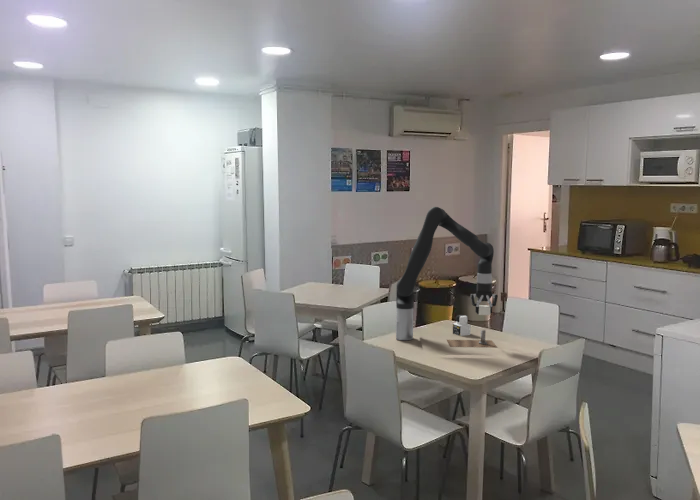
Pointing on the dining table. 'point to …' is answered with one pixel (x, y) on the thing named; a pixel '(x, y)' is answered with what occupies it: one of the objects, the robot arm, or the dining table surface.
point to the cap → (484, 310)
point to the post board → (473, 342)
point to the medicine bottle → (461, 326)
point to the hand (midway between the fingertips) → (483, 313)
